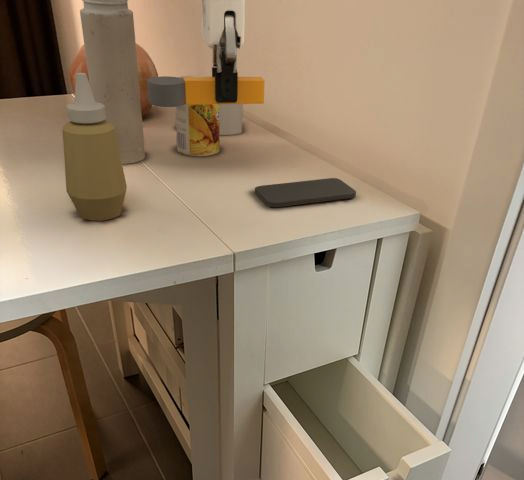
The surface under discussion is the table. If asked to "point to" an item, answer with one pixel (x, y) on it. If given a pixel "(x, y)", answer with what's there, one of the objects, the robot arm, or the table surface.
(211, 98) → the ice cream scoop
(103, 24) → the thermos bottle
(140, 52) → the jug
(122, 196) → the squeeze bottle
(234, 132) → the pale grey slab
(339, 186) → the phone
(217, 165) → the table surface
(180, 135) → the canned food
